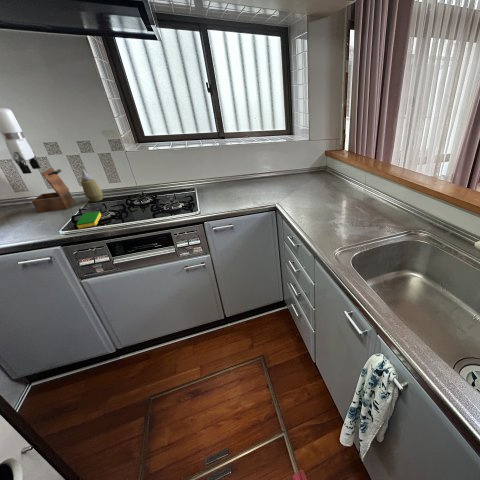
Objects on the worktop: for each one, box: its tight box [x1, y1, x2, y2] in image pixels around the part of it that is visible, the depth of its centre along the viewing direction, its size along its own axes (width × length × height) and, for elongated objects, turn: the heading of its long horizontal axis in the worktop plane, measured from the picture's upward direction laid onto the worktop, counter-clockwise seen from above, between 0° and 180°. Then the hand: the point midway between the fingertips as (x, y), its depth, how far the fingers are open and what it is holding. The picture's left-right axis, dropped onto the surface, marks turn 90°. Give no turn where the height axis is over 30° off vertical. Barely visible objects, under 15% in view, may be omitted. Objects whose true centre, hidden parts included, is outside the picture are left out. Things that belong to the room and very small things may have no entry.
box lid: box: [41, 167, 70, 197], centre depth 145 cm, size 13×12×5 cm
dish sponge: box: [75, 210, 102, 229], centre depth 132 cm, size 7×14×2 cm, turn 27°
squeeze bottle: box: [80, 169, 103, 203], centre depth 154 cm, size 8×8×18 cm
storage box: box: [31, 190, 75, 214], centre depth 149 cm, size 13×12×7 cm
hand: (32, 170), depth 139 cm, fingers open, 9 cm apart
